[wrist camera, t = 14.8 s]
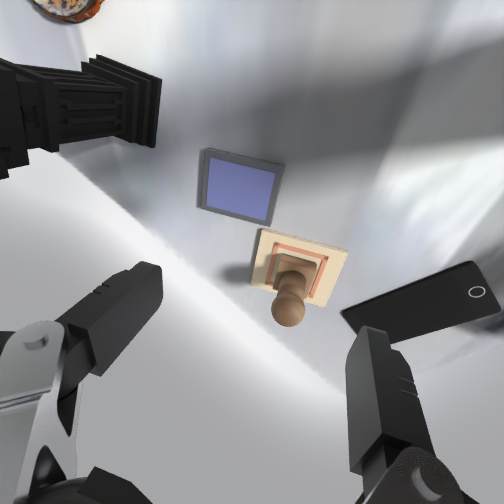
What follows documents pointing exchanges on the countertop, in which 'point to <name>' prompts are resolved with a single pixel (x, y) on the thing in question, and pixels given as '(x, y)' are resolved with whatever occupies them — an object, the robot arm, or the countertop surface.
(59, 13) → the burger
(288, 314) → the stamp
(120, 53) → the countertop surface
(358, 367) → the robot arm
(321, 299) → the board
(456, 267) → the cell phone
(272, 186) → the ink pad
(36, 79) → the chess piece
